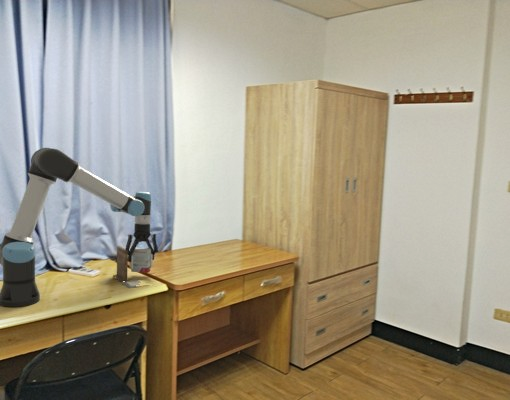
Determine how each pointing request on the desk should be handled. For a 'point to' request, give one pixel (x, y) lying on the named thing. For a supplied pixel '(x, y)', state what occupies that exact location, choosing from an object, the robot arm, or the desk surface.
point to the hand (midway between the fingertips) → (140, 267)
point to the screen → (121, 264)
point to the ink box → (141, 260)
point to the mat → (132, 283)
